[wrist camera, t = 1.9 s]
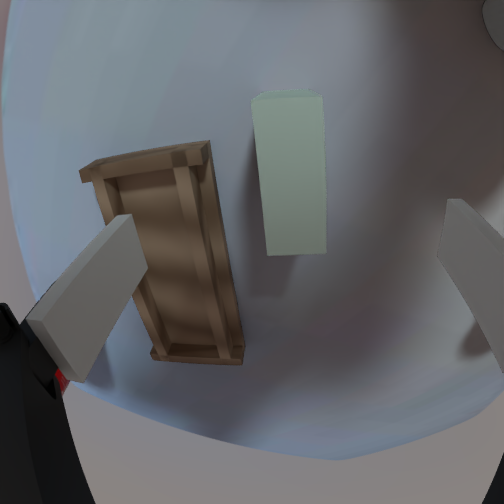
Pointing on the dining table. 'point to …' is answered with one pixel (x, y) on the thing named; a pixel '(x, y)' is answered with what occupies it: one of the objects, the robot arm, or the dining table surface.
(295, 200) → the pale green block
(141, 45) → the dining table surface
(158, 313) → the wooden tray
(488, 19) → the coffee cup
